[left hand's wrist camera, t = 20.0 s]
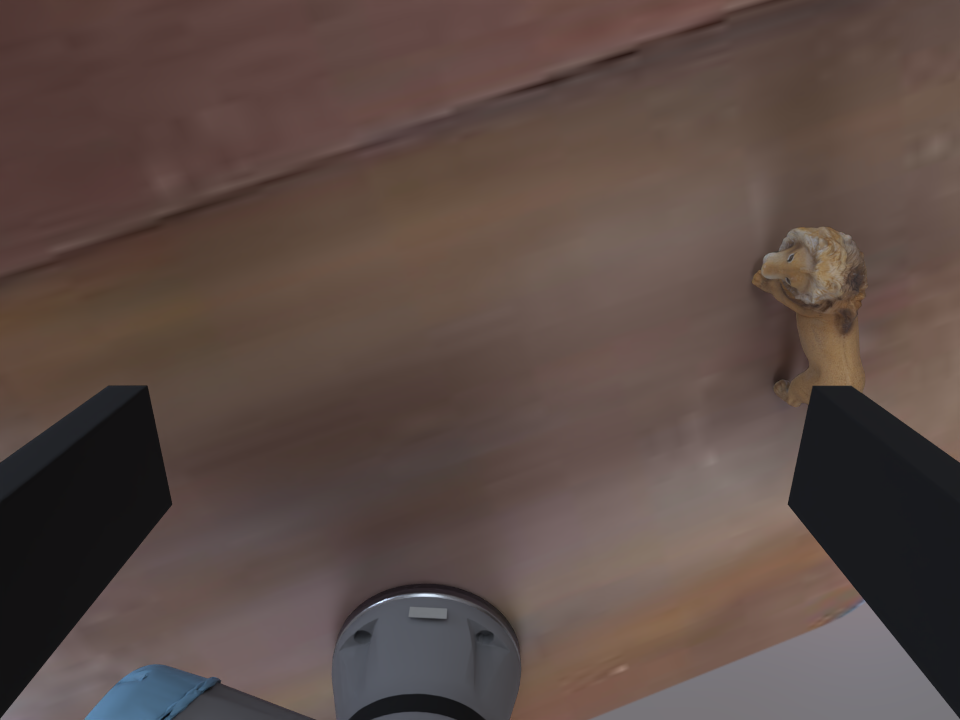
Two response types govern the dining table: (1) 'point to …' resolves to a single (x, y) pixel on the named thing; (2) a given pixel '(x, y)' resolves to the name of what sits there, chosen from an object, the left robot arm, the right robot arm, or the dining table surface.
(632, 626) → the dining table surface
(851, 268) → the lion figurine
